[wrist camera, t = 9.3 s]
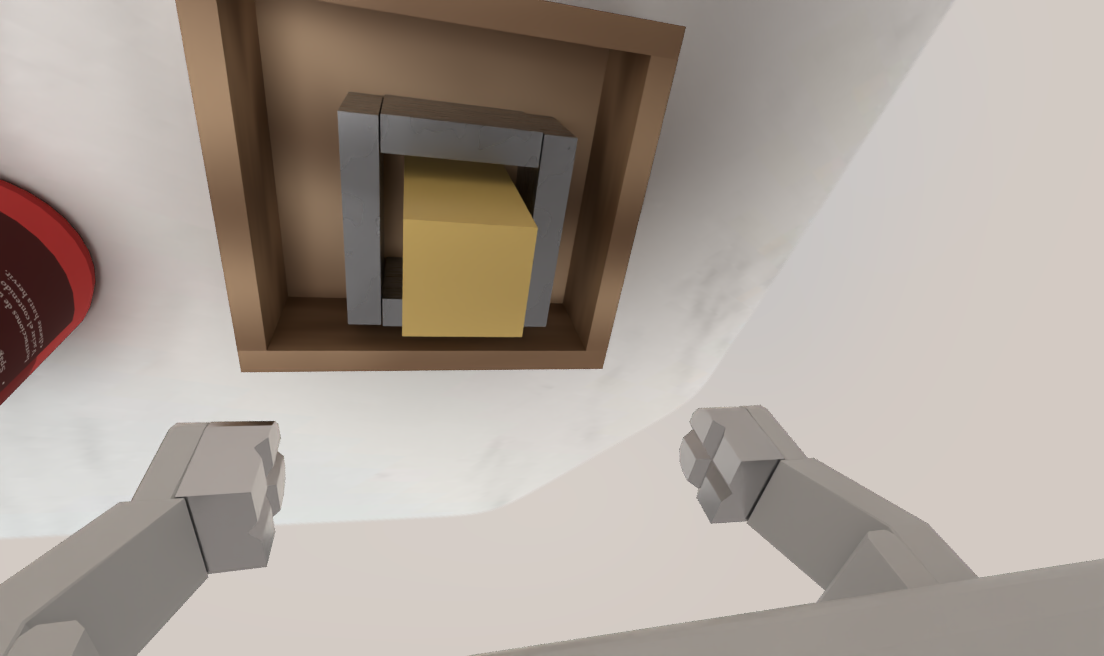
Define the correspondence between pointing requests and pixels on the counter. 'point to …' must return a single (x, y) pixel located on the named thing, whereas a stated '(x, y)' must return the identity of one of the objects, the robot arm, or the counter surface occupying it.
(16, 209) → the canned food
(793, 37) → the counter surface
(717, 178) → the counter surface
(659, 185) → the counter surface
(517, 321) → the plug
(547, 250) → the socket
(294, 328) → the walled box
